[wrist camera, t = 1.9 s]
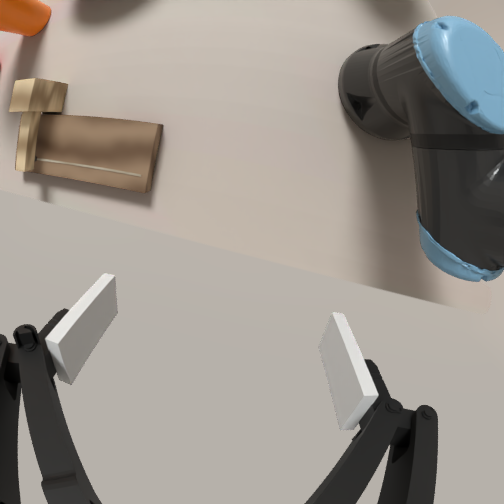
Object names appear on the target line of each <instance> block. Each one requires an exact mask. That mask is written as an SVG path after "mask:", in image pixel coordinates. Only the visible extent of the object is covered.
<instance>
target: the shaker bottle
mask: <svg viewBox="0 0 504 504" xmlns="http://www.w3.org/2000/svg"><path fill="white" fill-rule="evenodd" d="M50 14H51V9H50V7H49V6H47V5H46V4H44V3H42V2H40V1H38V0H0V31H5V32H11V33H16V34H21V35H25V36H34V35H36V34H37V33H38V32H40V31H41V30H42V29H43V27H44V26H45V25H46V23H47V22H48V20H49V17H50Z"/></svg>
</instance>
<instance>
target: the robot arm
mask: <svg viewBox="0 0 504 504" xmlns="http://www.w3.org/2000/svg"><path fill="white" fill-rule="evenodd" d="M338 87H339V94H340V98H341V101H342V103H343V106H344V108H345V110H346V112H347V113H348V115H349V116H350V117H351V119H352V120H353V121H354V122H355V123H356V124H357V125H358V126H359V127H360V128H361V129H363V130H364V131H365V132H367V133H369V134H370V135H373V136H375V137H378V138H381V139H387V140H402V139H406V138H409V137H411V143H412V152H413V160H414V169H415V179H416V191H417V207H418V209H417V212H416V213H417V221H418V223H419V232H420V243H421V247H422V249H423V251H424V252H425V254H426V256H427V258H428V259H429V260H430V261H431V262H432V263H433V264H434V265H435V266H437V267H438V268H439V269H441V270H442V271H444V272H446V273H448V274H450V275H452V276H454V277H457V278H459V279H463V280H467V281H473V282H479V281H480V280H481V279H483V280H484V281H490V280H493V279H496V278H497V277H498V276H500V275H501V273H502V272H503V270H504V52H503V50H502V49H501V48H500V46H499V45H498V44H497V43H496V42H495V41H494V40H493V39H492V38H491V36H490V35H489V34H488V33H486V32H485V31H484V30H483V29H482V28H480V27H479V26H477V25H476V24H474V23H472V22H470V21H468V20H466V19H464V18H460V17H456V16H444V17H440V18H437V19H434V20H432V21H428V22H424V23H421V24H419V25H418V26H417V27H416V28H415V29H413V30H412V31H410V32H408V33H407V34H405V35H403V36H402V37H400V38H398V39H397V40H395V41H393V42H392V43H390V44H389V45H388V44H373V45H368V46H365V47H362V48H360V49H358V50H357V51H355V52H354V53H353V54H351V55H350V56H349V57H348V58H347V59H346V61H345V62H344V64H343V65H342V67H341V70H340V73H339V80H338ZM117 313H118V311H117V298H116V281H115V275H110V274H106V273H104V274H103V275H102V276H101V277H100V278H99V279H98V280H97V281H96V282H95V283H94V284H93V285H92V287H91V288H90V289H89V290H88V291H87V292H86V293H85V294H84V295H83V296H82V297H81V299H79V301H78V302H77V303H76V304H75V305H74V306H73V307H72V308H71V309H70V310H68V309H63V310H61V311H59V312H57V313H56V314H55V316H54V317H53V318H52V319H51V320H50V321H49V322H48V324H46V325H45V327H44V328H43V329H42V330H41V331H40V332H39V333H37V330H36V328H35V327H34V326H32V325H28V324H26V325H25V324H24V325H21V326H19V327H18V328H16V329H15V331H14V333H13V336H14V339H15V342H16V344H12V343H8V341H7V338H6V337H5V336H4V335H2V334H0V504H21V502H20V491H19V478H18V457H17V456H18V453H17V452H18V448H17V446H18V445H17V444H18V418H19V406H20V396H21V388H22V394H23V401H24V407H25V412H26V417H27V422H28V427H29V431H30V436H31V440H32V444H33V447H34V451H35V454H36V458H37V461H38V465H39V468H40V471H41V474H42V477H43V481H42V482H41V486H42V489H43V492H44V495H45V497H46V500H47V502H48V504H102V503H101V501H100V500H99V498H98V497H97V495H96V493H95V492H94V490H93V488H92V485H91V483H90V482H89V479H88V477H87V475H86V473H85V470H84V468H83V466H82V463H81V461H80V459H79V456H78V454H77V451H76V449H75V446H74V443H73V441H72V438H71V435H70V433H69V430H68V427H67V424H66V420H65V418H64V414H63V411H62V408H61V404H60V400H59V397H58V393H57V389H56V385H55V381H54V379H53V377H54V375H55V374H56V372H57V375H58V378H59V380H61V381H63V382H65V383H68V384H70V385H72V383H73V382H74V380H75V378H76V377H77V375H78V373H79V372H80V370H81V368H82V367H83V365H84V364H85V362H86V360H87V359H88V357H89V356H90V354H91V352H92V351H93V349H94V348H95V346H96V345H97V343H98V342H99V340H100V338H101V337H102V335H103V334H104V332H105V331H106V329H107V328H108V326H109V325H110V323H111V322H112V320H113V319H114V318H115V316H116V315H117ZM319 351H320V354H321V358H322V362H323V365H324V369H325V372H326V376H327V380H328V384H329V388H330V392H331V396H332V399H333V403H334V407H335V412H336V416H337V420H338V424H339V427H340V430H352V429H354V428H355V427H356V426H357V424H358V423H359V424H360V428H361V429H360V430H359V432H358V433H357V434H356V436H354V438H353V439H352V440H353V441H352V442H351V444H350V445H349V447H348V448H347V450H346V451H345V453H344V454H343V456H342V457H341V458H340V460H339V461H338V463H337V464H336V465H335V467H334V468H333V470H332V471H331V472H330V473H329V475H328V476H327V477H326V479H325V480H324V481H323V482H322V484H321V485H320V486H319V487H318V489H317V490H316V491H315V492H314V494H313V495H312V496H311V497H310V498H309V499H308V501H307V502H306V503H305V504H356V502H357V501H358V499H359V498H360V496H361V495H362V493H363V491H364V490H365V488H366V486H367V485H368V483H369V481H370V480H371V478H372V476H373V474H374V473H375V471H376V469H377V467H378V466H379V464H380V462H381V460H382V458H383V456H384V454H385V452H386V450H387V448H388V446H389V445H390V450H389V456H388V461H387V466H386V471H385V476H384V480H383V484H382V488H381V492H380V496H379V500H378V503H377V504H433V502H434V494H435V484H436V473H437V455H438V416H437V413H436V411H435V410H434V409H433V408H432V407H430V406H428V405H421V406H420V407H418V409H417V410H416V411H413V410H408V409H404V408H403V406H402V405H401V403H400V402H398V401H397V400H395V399H392V398H391V397H390V394H389V392H388V390H387V388H386V386H385V383H384V381H383V380H382V376H381V374H380V372H379V370H378V367H377V366H376V365H375V364H374V363H373V361H372V360H366V359H363V356H362V354H361V352H360V349H359V347H358V345H357V343H356V340H355V338H354V336H353V334H352V331H351V329H350V327H349V325H348V323H347V320H346V318H345V316H344V314H343V313H335V312H332V313H331V316H330V319H329V321H328V324H327V327H326V329H325V332H324V334H323V337H322V340H321V342H320V344H319Z"/></svg>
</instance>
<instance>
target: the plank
mask: <svg viewBox="0 0 504 504" xmlns="http://www.w3.org/2000/svg"><path fill="white" fill-rule="evenodd" d="M21 119H22V115H21ZM20 125H21V120H20ZM162 128H163V125H162V124H155V123H148V122H140V121H132V120H123V119H114V118H103V117H90V116H73V115H41V116H40V122H39V128H38V135H37V142H36V150H35V156H36V157H37V160H36V161H35V162H34V169H33V170H29V171H28V172H34V173H40V174H46V175H52V176H57V177H63V178H69V179H74V180H80V181H85V182H91V183H96V184H101V185H106V186H111V187H116V188H121V189H126V190H131V191H136V192H141V193H146V192H148V191H150V190H151V184H152V178H153V172H154V167H155V161H156V156H157V151H158V146H159V142H160V137H161V132H162ZM19 132H20V127H19ZM18 140H19V134H18ZM17 149H18V142H17ZM16 160H17V151H16ZM15 170H16V163H15Z"/></svg>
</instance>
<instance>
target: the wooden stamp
mask: <svg viewBox="0 0 504 504" xmlns="http://www.w3.org/2000/svg"><path fill="white" fill-rule="evenodd" d="M67 86H68V84H66V83H61V82H55V81H50V80H44V79H38V78H31V79H23V80H16V81H15V84H14V89H13V93H12V98H11V103H10V108H9V112H23V113H22V119H21V125H20V132H19V140H18V149H17V160H16V170H17V171H23V172H25V171H29V170H33V169H34V162H35V161H36V160H37V157H36V156H35V150H36V142H37V135H38V128H39V122H40V116H41V112H62V108H63V104H64V99H65V95H66V90H67Z"/></svg>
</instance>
